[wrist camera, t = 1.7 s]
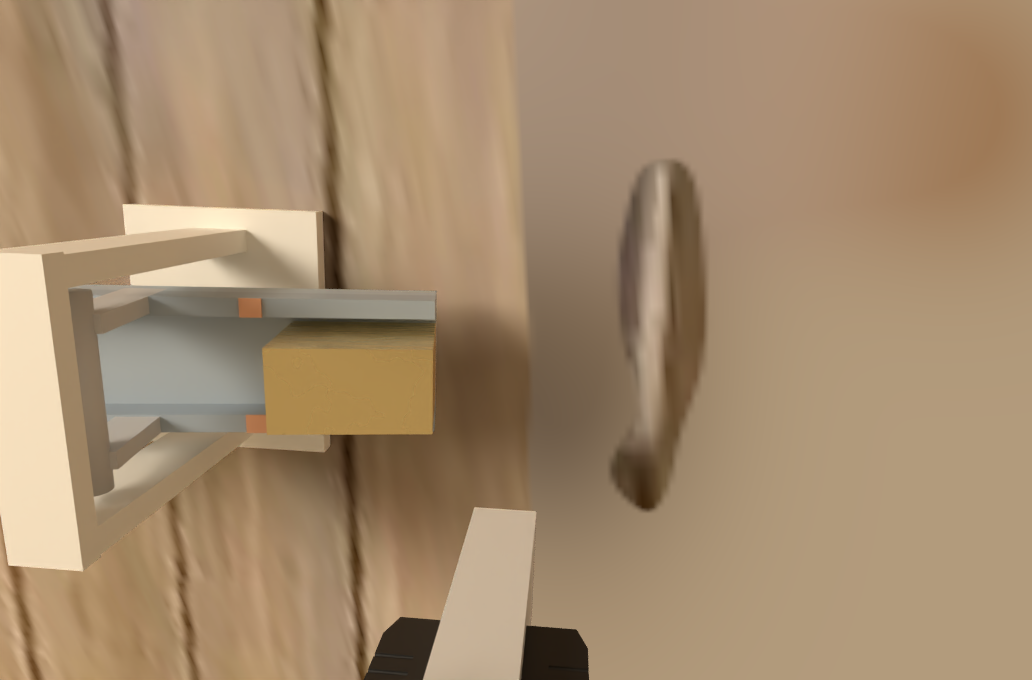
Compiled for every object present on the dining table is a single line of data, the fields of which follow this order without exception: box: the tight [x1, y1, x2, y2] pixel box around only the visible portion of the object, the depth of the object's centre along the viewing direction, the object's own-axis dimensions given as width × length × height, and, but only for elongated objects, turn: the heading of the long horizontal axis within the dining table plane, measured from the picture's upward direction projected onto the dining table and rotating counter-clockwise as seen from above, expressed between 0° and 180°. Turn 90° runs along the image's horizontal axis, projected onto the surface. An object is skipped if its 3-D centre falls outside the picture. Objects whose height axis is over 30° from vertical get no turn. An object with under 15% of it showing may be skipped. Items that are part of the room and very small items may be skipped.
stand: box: [0, 204, 330, 571], centre depth 31 cm, size 14×11×16 cm
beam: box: [68, 285, 436, 497], centre depth 30 cm, size 8×28×8 cm, turn 88°
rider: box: [262, 321, 436, 435], centre depth 31 cm, size 4×7×6 cm, turn 88°
